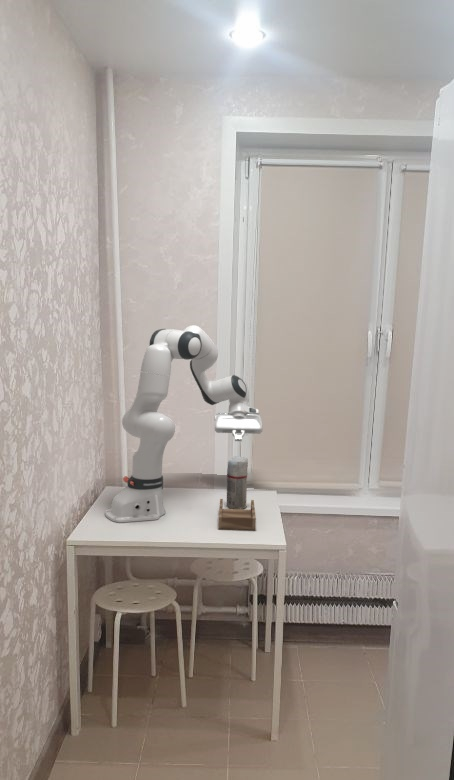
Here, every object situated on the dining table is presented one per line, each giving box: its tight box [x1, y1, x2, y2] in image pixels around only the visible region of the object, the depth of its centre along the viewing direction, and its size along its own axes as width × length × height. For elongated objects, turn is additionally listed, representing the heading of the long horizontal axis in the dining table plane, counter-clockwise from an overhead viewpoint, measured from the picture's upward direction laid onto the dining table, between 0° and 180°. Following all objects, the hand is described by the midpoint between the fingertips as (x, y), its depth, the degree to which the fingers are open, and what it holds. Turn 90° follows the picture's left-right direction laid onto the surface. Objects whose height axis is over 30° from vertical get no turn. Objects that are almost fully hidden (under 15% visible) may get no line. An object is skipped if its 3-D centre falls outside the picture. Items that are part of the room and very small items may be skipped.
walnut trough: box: [217, 498, 257, 532], centre depth 223 cm, size 22×13×4 cm, turn 179°
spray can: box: [226, 455, 249, 509], centre depth 238 cm, size 8×8×20 cm
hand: (238, 440), depth 251 cm, fingers closed
